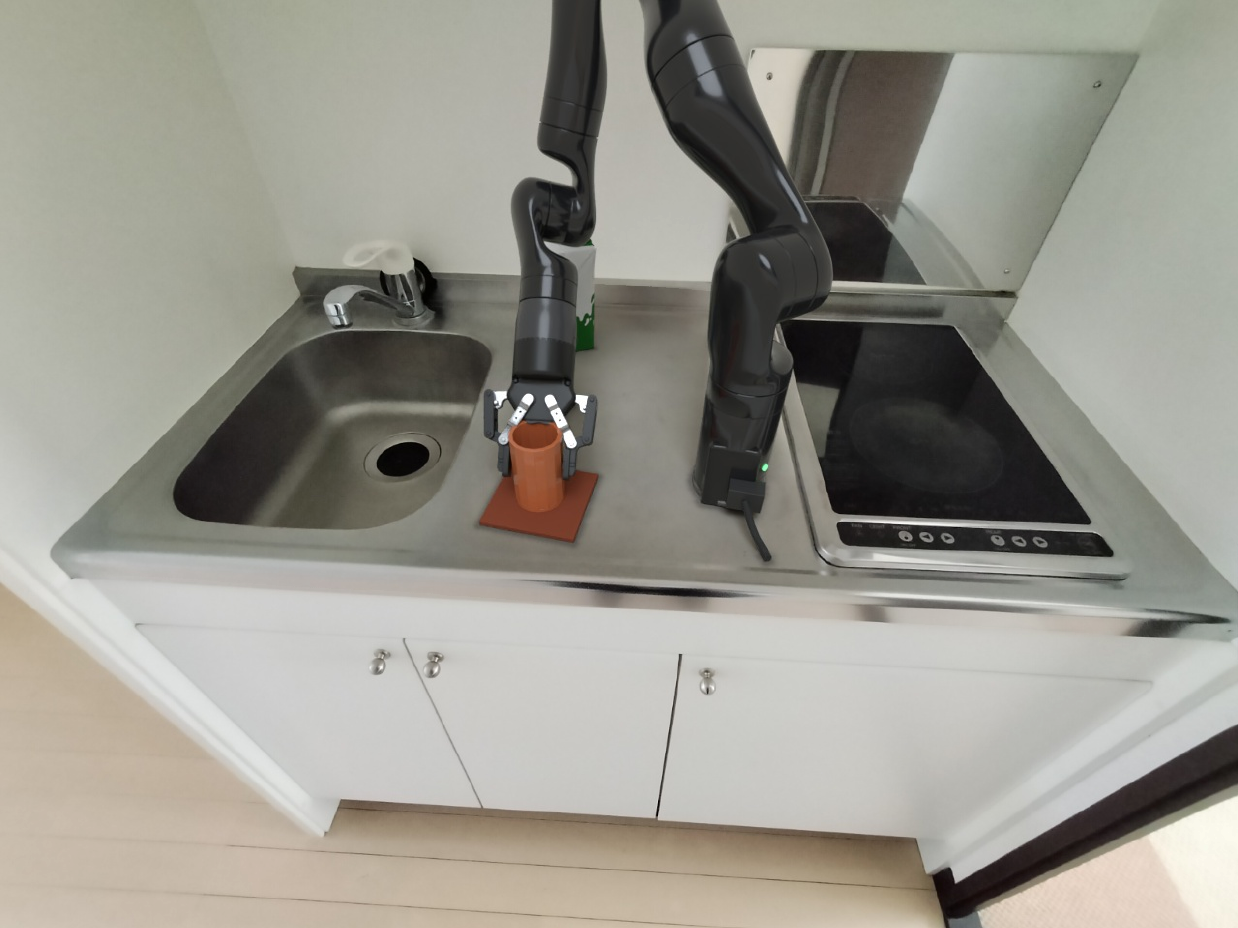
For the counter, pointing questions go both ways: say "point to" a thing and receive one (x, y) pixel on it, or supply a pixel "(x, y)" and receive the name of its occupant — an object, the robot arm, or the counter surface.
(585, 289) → the milk carton
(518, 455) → the clay cup
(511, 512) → the clay mat
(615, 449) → the counter surface
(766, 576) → the counter surface
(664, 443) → the counter surface
